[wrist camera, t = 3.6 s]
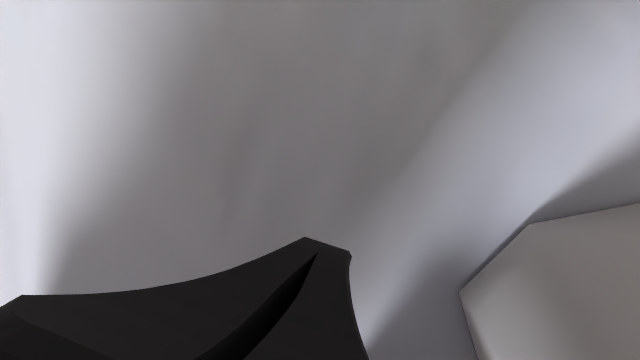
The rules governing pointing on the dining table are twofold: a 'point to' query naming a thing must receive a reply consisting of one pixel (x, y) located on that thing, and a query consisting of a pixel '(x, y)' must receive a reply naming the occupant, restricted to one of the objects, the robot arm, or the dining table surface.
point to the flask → (561, 291)
